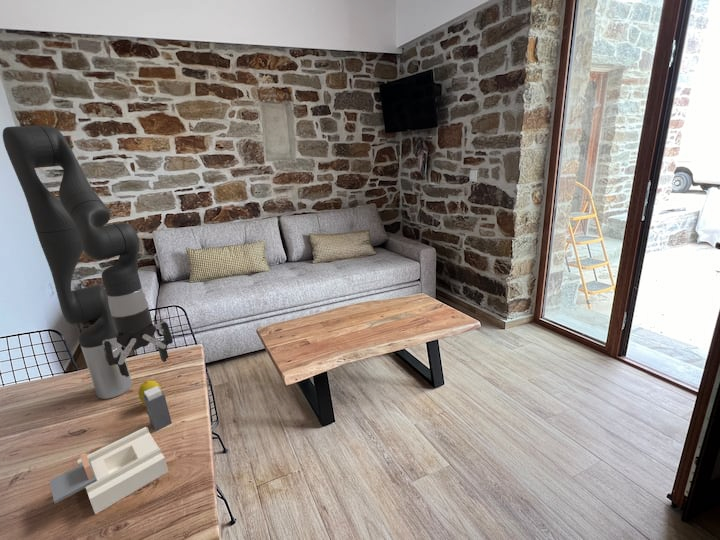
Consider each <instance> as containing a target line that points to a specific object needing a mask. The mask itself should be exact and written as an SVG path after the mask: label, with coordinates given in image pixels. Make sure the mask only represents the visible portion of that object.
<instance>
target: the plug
mask: <svg viewBox="0 0 720 540" xmlns="http://www.w3.org/2000/svg"><path fill="white" fill-rule="evenodd" d="M144 394H145V395H143V398H144V401H145V404H144V405H145V407H146V411H147V414H148V419H149V421H150V425H151V426H152V428H153V430H154V431H155V432H157V431H160V430H162V429H164V428H165V427H167V426H169V425H172V423H173V422H172V418H171V415H170V414H171V413H170V411H169V407H168V403H167V400H166V396H165V393H164V392H163V391H162V389H161V390H160V388H159V387H158V386H156V387H153V388H151V389H149V390H146V391H144Z"/></svg>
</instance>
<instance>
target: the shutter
mask: <svg viewBox="0 0 720 540" xmlns="http://www.w3.org/2000/svg"><path fill="white" fill-rule="evenodd" d="M87 455H88V454H87V453H86V452H84V453H82V454H79V456H80V459H81V460H82V463H83V464H81V465H77V466H75V467H74V468H71V469H70V470H68V471H66V472H63V473H61V474H60V475H57V476H55V477H53V478H51V479H50V480H49V484H50V489H51V494H52V498H53V499H52V500H53V502H54V505H55V504H57V503H60V502H62V501H63V500H65V499H66V498H68V497H70V496H72V495H74V494H76V493H78V492H80V491H81V490H85V489H86V486H88V485H90V484H92V483H94V482H96V481H97V479H96V476H95V473H94V471H93V468H92V465H91V462H90V460H88V458H87Z"/></svg>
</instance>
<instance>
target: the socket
mask: <svg viewBox="0 0 720 540" xmlns="http://www.w3.org/2000/svg"><path fill="white" fill-rule="evenodd" d="M86 455H87V458H88V460H90V462H91V465H92V468H93V471H94V473H95V476H96V479H97V481H96V482H94V483H92V484H90V485H88V486H86V487H85V490H86V493H87V495H88V499H89V501H90V504H91V507H92V509H93V510H92V511H93V513H94V515H97V514H98V513H100V512H101V511H104V510H106V509H107V508H109V507H110V506H112V505H114V504H115V503H117V502H119V501H121V500H122V499H124V498H126V497H127V496H129V495H131V494H133V493H134V492H136V491H138V490H139V489H141V488H143V487H145V486H146V485H148V484H150V483H151V482H153V481H156V480H157V479H159V477H163V476H164V475H165V474H167V473H168V472H169V468H168V463H167V462H166V461H167V460H166V457H165V456H164V453H162V449H161V447H159V445H158V444H157V443H156V441H155V439H154V438H153V436H152V435H151V433H150V430H149V428H148V427H146V426H144V427H142V428H140V429H138V430H136V431H134V432H132V433H130V434H128V435H126V436H124V437H122V438H120V439H118V440H115V441H114V442H112V443H110V444H108V445H106V446H104V447H101V448H99V449H97V450H96V451H93V452H91V453H89V454H86ZM77 464H78V465H77V466H79V465H81V464H83V463H82V460H81V458H79V459H77Z"/></svg>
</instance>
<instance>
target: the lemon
mask: <svg viewBox="0 0 720 540" xmlns="http://www.w3.org/2000/svg"><path fill="white" fill-rule="evenodd" d="M156 386H158V387H159V388H160V390H161V391H162V388H161V386H160V384H159V383H158V382H157V381H155V380H146V381H144V382H143V383H142V384H140V386H139V389H138V398H139V400H140V402H141V403H142V404H143V405H145V401H144V398H143V395H145V394H144V391H146V390H149V389H151V388H153V387H156Z"/></svg>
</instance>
